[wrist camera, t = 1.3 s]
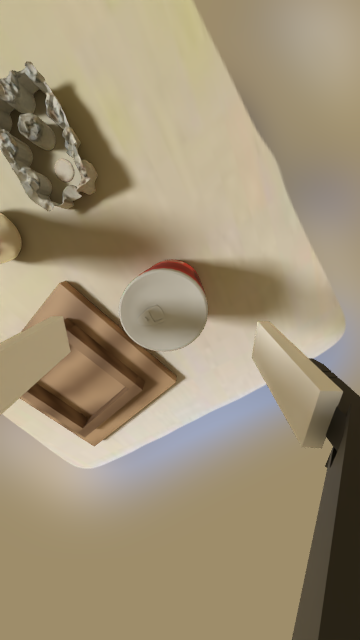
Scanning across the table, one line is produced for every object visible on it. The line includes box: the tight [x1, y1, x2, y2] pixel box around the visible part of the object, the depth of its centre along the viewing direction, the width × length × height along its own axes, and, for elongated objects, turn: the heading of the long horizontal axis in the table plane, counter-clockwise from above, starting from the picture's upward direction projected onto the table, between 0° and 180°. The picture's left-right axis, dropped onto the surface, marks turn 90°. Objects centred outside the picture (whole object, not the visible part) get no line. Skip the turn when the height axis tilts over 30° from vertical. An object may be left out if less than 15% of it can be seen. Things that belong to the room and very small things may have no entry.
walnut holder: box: [20, 281, 177, 446], centre depth 32 cm, size 22×22×4 cm
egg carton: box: [0, 61, 97, 211], centre depth 21 cm, size 11×8×4 cm
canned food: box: [119, 260, 208, 352], centre depth 22 cm, size 8×8×11 cm
